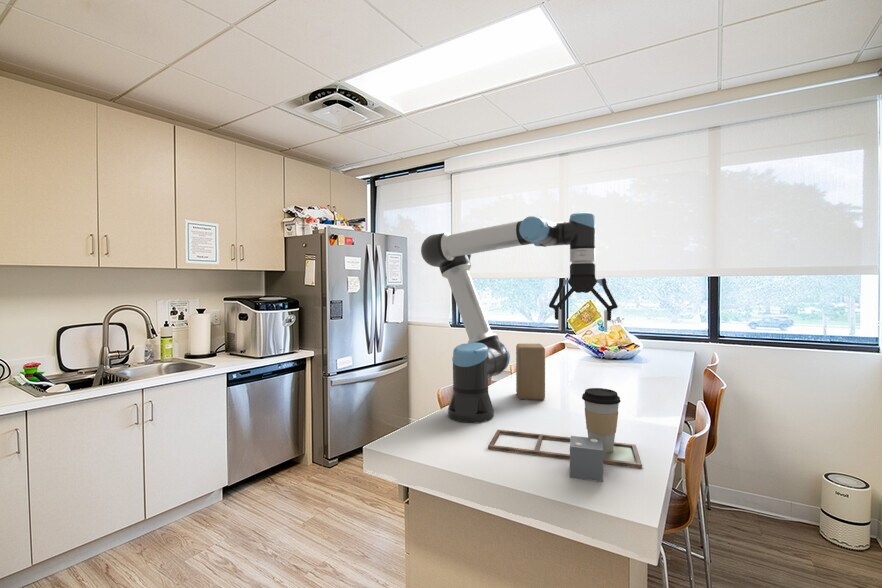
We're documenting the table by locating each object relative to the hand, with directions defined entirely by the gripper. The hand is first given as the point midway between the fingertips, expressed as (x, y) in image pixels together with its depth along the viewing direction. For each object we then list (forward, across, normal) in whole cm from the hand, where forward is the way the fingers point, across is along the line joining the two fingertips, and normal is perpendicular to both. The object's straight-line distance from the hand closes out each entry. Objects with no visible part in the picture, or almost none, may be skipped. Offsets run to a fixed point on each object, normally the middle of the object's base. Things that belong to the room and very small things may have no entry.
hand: (582, 330), depth 130 cm
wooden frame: (+29, -5, -24) cm, 38 cm away
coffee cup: (+29, +5, -22) cm, 36 cm away
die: (+29, +1, -37) cm, 47 cm away
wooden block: (+29, -19, +24) cm, 42 cm away
